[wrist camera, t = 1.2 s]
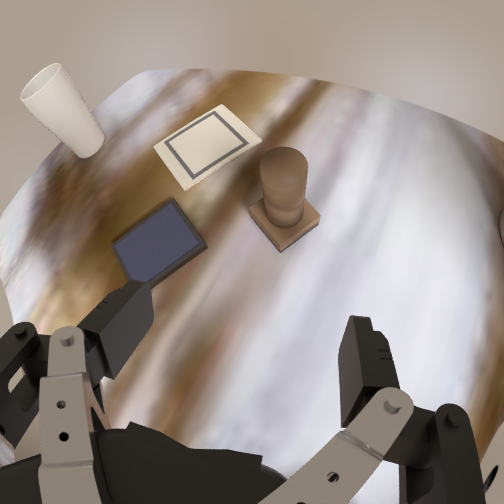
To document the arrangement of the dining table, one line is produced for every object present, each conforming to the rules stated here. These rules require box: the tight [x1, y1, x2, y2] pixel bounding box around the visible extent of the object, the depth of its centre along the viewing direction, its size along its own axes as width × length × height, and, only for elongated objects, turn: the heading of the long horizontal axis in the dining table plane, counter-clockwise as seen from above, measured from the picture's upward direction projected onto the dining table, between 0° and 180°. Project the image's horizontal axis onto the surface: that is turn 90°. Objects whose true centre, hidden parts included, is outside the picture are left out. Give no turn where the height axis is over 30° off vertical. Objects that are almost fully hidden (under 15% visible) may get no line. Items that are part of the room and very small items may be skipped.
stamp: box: [249, 147, 321, 253], centre depth 26 cm, size 5×5×10 cm
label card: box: [153, 104, 262, 191], centre depth 35 cm, size 11×9×1 cm
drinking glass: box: [20, 63, 105, 158], centre depth 31 cm, size 7×7×15 cm
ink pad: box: [111, 198, 208, 289], centre depth 31 cm, size 9×7×1 cm
